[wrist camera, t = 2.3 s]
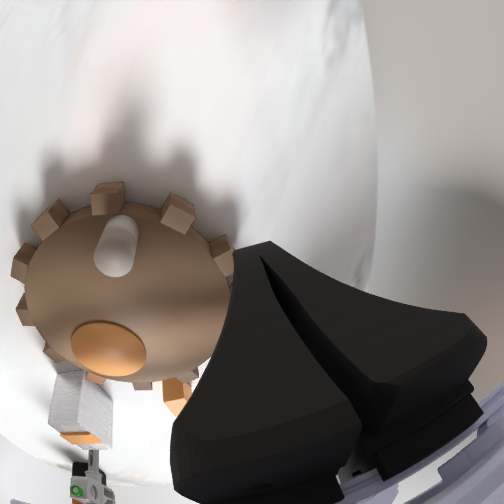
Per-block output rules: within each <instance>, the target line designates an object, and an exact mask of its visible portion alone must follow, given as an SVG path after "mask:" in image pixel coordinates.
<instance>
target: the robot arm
mask: <svg viewBox="0 0 504 504" xmlns="http://www.w3.org/2000/svg"><path fill="white" fill-rule="evenodd" d="M232 256H233V261H234V275H233V284H232V291H231V296H230V301H229V306H228V310H227V314H226V318H225V321H224V325H223V328H222V331H221V334H220V337H219V339H218V342H217V344H216V347H215V349H214V352H213V354H212V356H211V359H210V361H209V363H208V365H207V367H206V369H205V371H204V373H203V375H202V377H201V379H200V381H199V382H198V384H197V386H196V388H195V390H194V392H193V393H192V395H191V396H190V398H189V400H188V401H187V403H186V404H185V406H184V407H183V409H182V410H181V412H180V413H179V415H178V417H177V418H176V420H175V421H174V423H173V427H172V434H171V443H170V466H171V473H172V479H173V485H174V490H175V491H176V492H178V493H179V494H181V495H182V496H184V497H186V498H188V499H190V500H193V501H195V502H197V503H200V504H392V502H393V500H394V499H395V497H396V495H397V494H398V489H397V488H398V482H400V481H402V480H404V479H406V478H407V477H409V476H411V475H413V474H414V473H416V472H417V471H419V470H421V469H423V468H424V467H426V466H427V465H429V464H430V463H432V462H433V461H435V460H437V459H438V458H439V457H441V456H442V455H444V454H445V453H447V452H448V451H450V450H451V449H452V448H454V447H455V446H456V445H458V444H459V443H460V442H462V441H463V440H464V439H466V438H467V437H468V436H470V434H472V433H473V432H474V431H476V430H477V429H478V428H479V429H478V431H477V438H476V439H474V440H473V441H472V442H471V443H470V444H468V445H467V446H466V447H465V448H463V449H462V450H461V451H460V452H459V453H457V454H456V455H455V456H454V457H453V458H451V459H450V460H448V461H447V462H446V463H444V464H443V465H441V466H440V467H439V468H438V473H439V474H440V476H441V478H442V481H440V482H439V483H437V484H436V485H434V486H432V487H431V488H429V489H428V490H426V491H424V492H423V493H421V494H419V495H418V496H416V497H414V498H413V499H411V500H409V501H407V502H405V503H404V504H504V381H503V382H502V383H501V384H500V385H498V386H497V387H496V388H495V389H494V390H493V391H492V392H490V394H488V395H487V396H486V397H485V398H484V399H482V400H481V401H480V402H479V403H477V402H476V401H475V399H474V398H473V397H472V395H471V393H472V392H473V390H474V387H473V385H472V384H471V383H470V381H469V380H468V379H469V377H470V375H471V374H472V372H473V371H474V369H475V368H476V366H477V365H478V363H479V361H480V360H481V358H482V356H483V354H484V352H485V350H486V346H487V337H486V336H485V335H484V334H483V332H482V331H481V330H480V329H479V328H478V327H477V326H476V325H475V324H474V323H473V322H472V321H471V320H470V319H469V318H468V317H467V316H466V315H465V314H464V313H455V312H447V311H439V310H432V309H426V308H421V307H416V306H412V305H407V304H402V303H399V302H395V301H391V300H388V299H385V298H382V297H378V296H375V295H372V294H369V293H366V292H364V291H361V290H358V289H356V288H354V287H351V286H349V285H346V284H344V283H342V282H339V281H337V280H335V279H333V278H331V277H329V276H327V275H325V274H323V273H321V272H319V271H317V270H316V269H314V268H312V267H310V266H309V265H307V264H305V263H304V262H302V261H300V260H299V259H297V258H296V257H294V256H293V255H291V254H290V253H288V252H286V251H285V250H283V249H282V248H280V247H279V246H277V245H276V244H274V243H273V242H271V241H267V242H264V243H260V244H256V245H252V246H249V247H245V248H241V249H237V250H234V252H233V253H232ZM11 504H29V503H25V502H21V501H18V500H14V499H12V500H11Z"/></svg>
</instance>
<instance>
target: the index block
mask: <svg viewBox="0 0 504 504" xmlns="http://www.w3.org/2000/svg"><path fill="white" fill-rule="evenodd" d="M162 384H163V400H164V403H165V404H166V406H167V407H168V408H169V409H170V410H171V412H172V413H173V414H174V415H175V416H178V415H179V413H180V412H181V410H182V409H183V407H184V406H185V404H186V403H187V401H188V400H189V398H190V396H191V395H192V390H191V387H190V385H189V384H188V382H187V383H184V384H183V383H182V382H181V381H180V380H178V379H177V378H176V377H174V378H170V379H166V380H162Z"/></svg>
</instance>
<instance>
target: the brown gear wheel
mask: <svg viewBox="0 0 504 504" xmlns="http://www.w3.org/2000/svg"><path fill="white" fill-rule="evenodd" d="M90 199H91V206H88V207H84V208H82V209H80V210H78V211H75V212H73V213H71V214H70V215H69V213H68V211H67V210H66V209H65V207H64V206H63V204H62V203H61V201H60V200H59V199H58V200H57V201H56V202H55V203H53V204H52V205H51V206H50V207H49V208H48V209H46V210H45V211H44V212H43V213H42V214H41V215H40V216H39V217H38V218H37V220H36V221H35V222H34V223H33V224H32V225H31V227H32V228H33V229H34V231H35V232H36V233H37V235H38V236H39V237H40V239H41V240H42V243H41V244H40V246H39V247H38V248H37V249H35V248H34V247H32V246H30V245H28V244H26V243H24V244H23V246H22V247H21V248H20V250H19V251H18V252H17V254H16V255H15V256H14V258H13V263H12V270H11V277H13V278H15V279H17V280H19V281H20V282H22V283H25V293H24V294H23V296H22V298H21V299H20V301H19V303H18V305H17V307H16V312H17V314H18V316H19V318H20V321H21V323H22V325H23V326H36V328H37V330H38V331H39V333H40V334H41V336H42V337H43V338H44V340H45V341H46V344H45V347H44V350H43V352H44V353H45V354H46V355H47V356H48V357H50V358H51V359H52V360H53V361H54V362H56V363H58V362H60V361H62V360H64V359H66V360H67V361H69V362H70V363H72V364H73V365H75V366H77V367H79V368H81V369H83V370H85V371H87V373H86V380H88V381H91V382H94V383H97V384H100V385H103V383H104V381H105V379H106V378H107V379H111V380H116V381H123V382H132V384H133V387H134V389H135V390H152V382H155V381H162V380H166V379H170V378H174V377H176V378H177V379H178V380H180V381H181V382H182V383H183V384H184V383H187V382H189V381H192V380H194V379H197V378H199V373H198V366H199V365H201V364H202V363H204V362H205V361H206V360H207V359H209V358H210V357H211V356H212V354H213V352H214V349H215V347H216V344H217V342H218V339H219V337H220V334H221V331H222V328H223V325H224V321H225V318H226V314H227V310H228V306H229V301H230V296H231V291H232V287H228V283H227V280H226V277H227V276H229V275H231V274H233V273H234V261H233V256H232V253H233V252H234V248H233V246H232V245H231V243H230V241H229V240H228V238H227V236H226V234H225V235H223V236H221V237H219V238H218V239H216V240H214V241H212V242H210V243H208V242H207V241H206V240H205V239H204V238H203V237H202V236H201V235H200V234H199V233H198V232H197V231H196V230H195V229H194V228H192V227H191V224H192V223H193V221H194V219H195V218H196V216H195V210H194V204H192V203H190V202H188V201H186V200H184V199H182V198H180V197H178V196H176V195H175V194H173V193H170V195H169V197H168V198H167V200H166V202H165V204H164V205H163V207H162V209H161V210H160V209H158V208H154V207H151V206H147V205H144V204H138V203H131V202H125V196H124V182H119V183H103V184H98V185H97V186H96V188H95V189H94V190H93V192H92V193H91V194H90ZM209 244H210V245H209Z"/></svg>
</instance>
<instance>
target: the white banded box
mask: <svg viewBox="0 0 504 504" xmlns="http://www.w3.org/2000/svg"><path fill="white" fill-rule="evenodd" d="M86 373H87V372H86V371H85V370H80V371H73V372H67V373H60V374H57V377H56V381H55V386H54V391H53V396H52V401H51V407H50V413H49V419H48V424H49V425H51V426H52V427H53V428H54V429H56V430H57V431H58V432H60V436H61V437H63V438H64V439H66V440H67V441H68V442H70V443H71V444H76V445H78V446H79V447H80V448H82V449H83V450H101V449H112V420H113V401H112V400H111V399H110V398H109V397H108V396H107V395H106V394H105V392H104V391H103V390H102V389H101V388H100V387H99V386H98V385H97V384H96V383H94V382H91V381H88V380H86Z"/></svg>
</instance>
